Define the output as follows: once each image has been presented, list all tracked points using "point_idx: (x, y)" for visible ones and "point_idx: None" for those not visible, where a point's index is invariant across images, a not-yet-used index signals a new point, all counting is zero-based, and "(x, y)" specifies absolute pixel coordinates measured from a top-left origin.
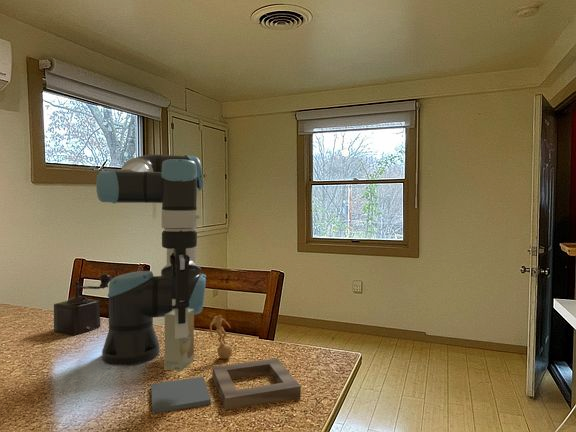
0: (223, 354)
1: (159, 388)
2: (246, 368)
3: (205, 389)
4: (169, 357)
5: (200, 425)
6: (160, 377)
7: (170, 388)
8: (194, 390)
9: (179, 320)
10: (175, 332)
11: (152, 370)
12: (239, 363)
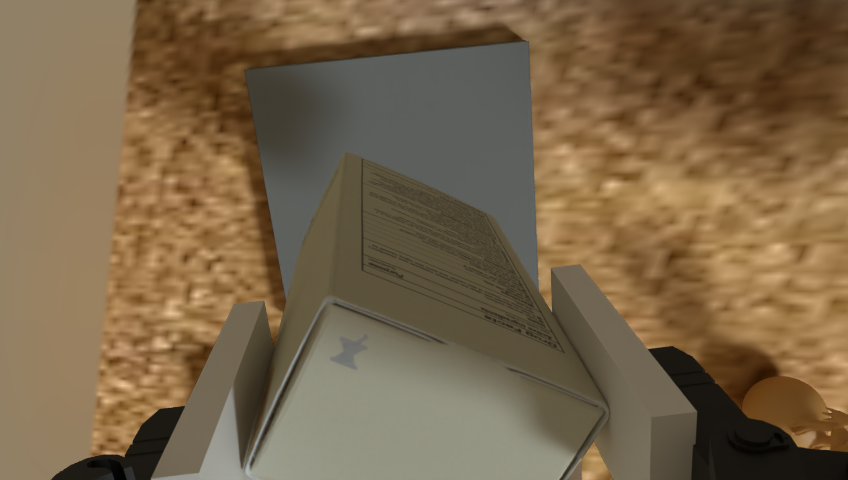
0: (748, 406)
1: (460, 89)
2: None
3: None
4: (323, 204)
5: (123, 275)
6: (642, 79)
7: (445, 146)
8: None
9: (140, 441)
10: (223, 333)
11: (753, 26)
12: (578, 475)
